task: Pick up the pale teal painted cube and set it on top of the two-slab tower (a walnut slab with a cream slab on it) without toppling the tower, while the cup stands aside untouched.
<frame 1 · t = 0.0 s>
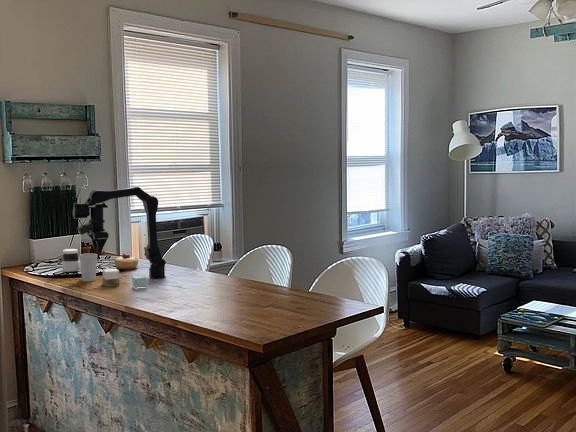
hand: (97, 251, 285), 15 cm above the table, tool pointing down, fingers open, 9 cm apart
pastry: (126, 268, 320), on the table
spread jar: (74, 273, 306), on the table
cup: (88, 280, 292), on the table
walnut slab: (111, 285, 283), on the table, touching cream slab
painted cube: (139, 288, 279), on the table
cream slab: (110, 277, 283), point 3 cm above the table, touching walnut slab
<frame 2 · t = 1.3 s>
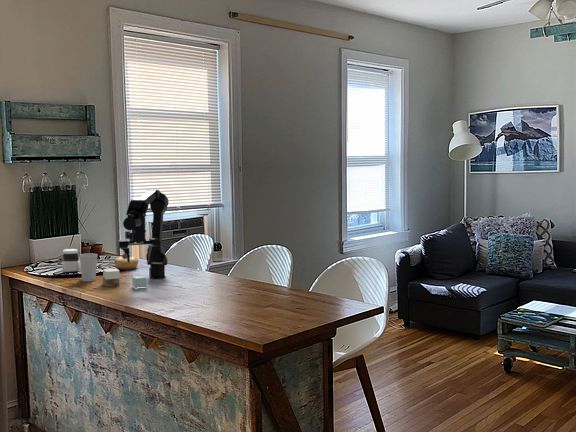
hand: (139, 261, 277), 12 cm above the table, tool pointing down, fingers open, 9 cm apart
nothing on the table moved.
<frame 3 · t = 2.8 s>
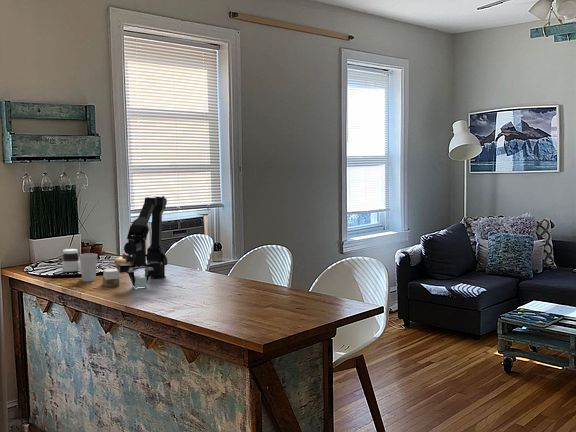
hand: (139, 285, 278), 1 cm above the table, tool pointing down, fingers closed on painted cube, 5 cm apart
walnut slab: (111, 285, 283), on the table
painted cube: (139, 287, 279), on the table, touching gripper
cream slab: (111, 277, 283), point 3 cm above the table
everything else where it was.
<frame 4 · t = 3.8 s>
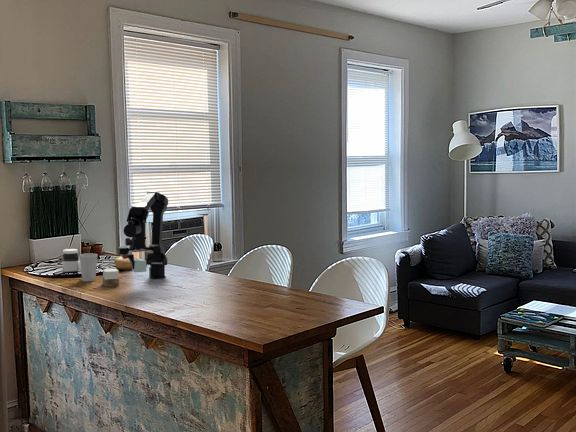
hand: (139, 268, 277), 9 cm above the table, tool pointing down, fingers closed on painted cube, 5 cm apart
walnut slab: (110, 285, 283), on the table, touching cream slab
painted cube: (139, 271, 277), point 8 cm above the table, touching gripper
cream slab: (110, 277, 283), point 3 cm above the table, touching walnut slab
everything else where it was.
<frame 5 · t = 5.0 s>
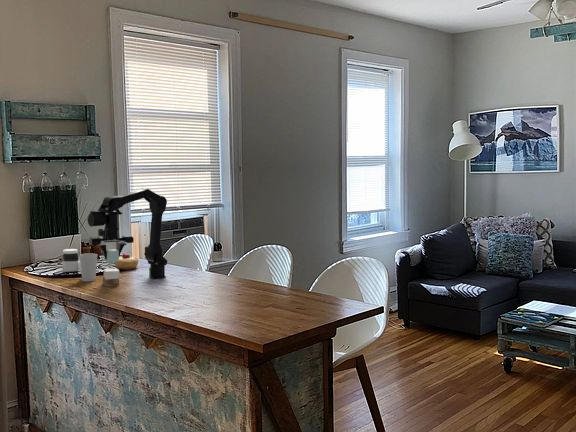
hand: (111, 258, 282), 12 cm above the table, tool pointing down, fingers closed on painted cube, 5 cm apart
painted cube: (111, 261, 282), point 11 cm above the table, touching gripper
everything else where it was.
when the fingers open (9 cm above the table, at t = 6.0 s): painted cube drops 2 cm, resting on cream slab.
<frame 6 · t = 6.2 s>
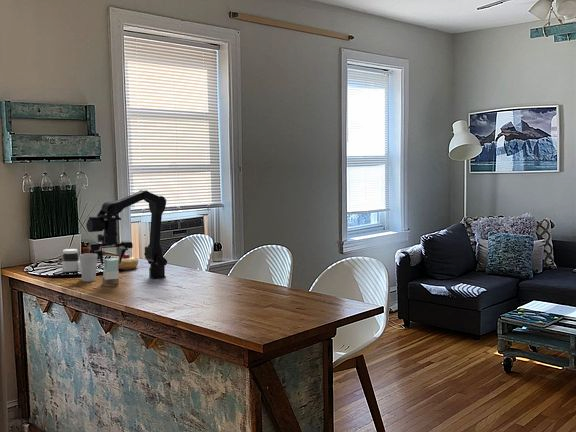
hand: (110, 264, 282), 9 cm above the table, tool pointing down, fingers open, 7 cm apart
painted cube: (111, 270, 282), point 7 cm above the table, touching cream slab
cream slab: (111, 277, 283), point 3 cm above the table, touching painted cube, walnut slab
everything else where it was.
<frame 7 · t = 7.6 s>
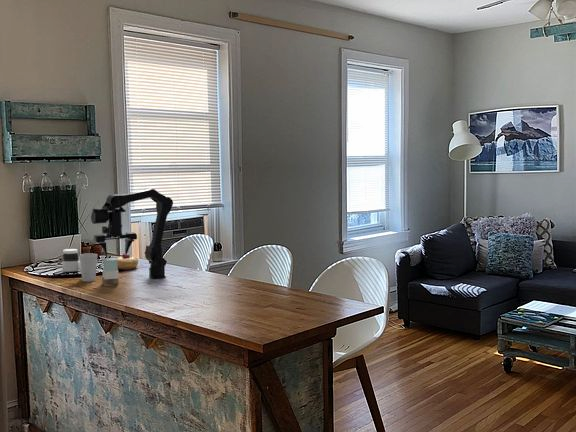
hand: (116, 255, 287), 13 cm above the table, tool pointing down, fingers open, 9 cm apart
painted cube: (110, 270, 282), point 7 cm above the table
cream slab: (110, 277, 283), point 3 cm above the table, touching walnut slab
everything else where it was.
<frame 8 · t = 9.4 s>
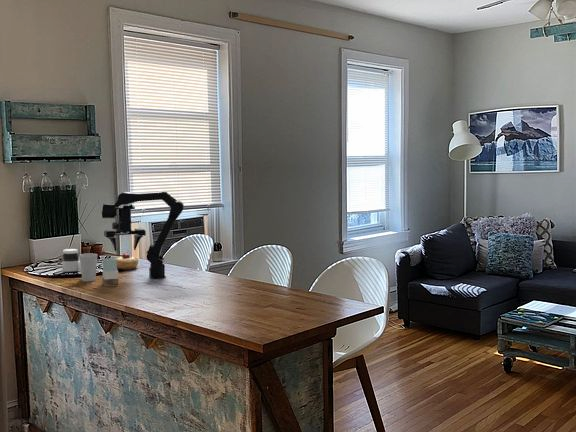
hand: (125, 250, 298), 13 cm above the table, tool pointing down, fingers open, 9 cm apart
painted cube: (109, 270, 282), point 7 cm above the table, touching cream slab
cream slab: (110, 277, 283), point 3 cm above the table, touching painted cube, walnut slab
everything else where it was.
at the end: painted cube 0.3 cm off-centre on the walnut slab, point 7.0 cm above the walnut slab's base; cream slab tilted 0°; the gripper is holding nothing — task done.
